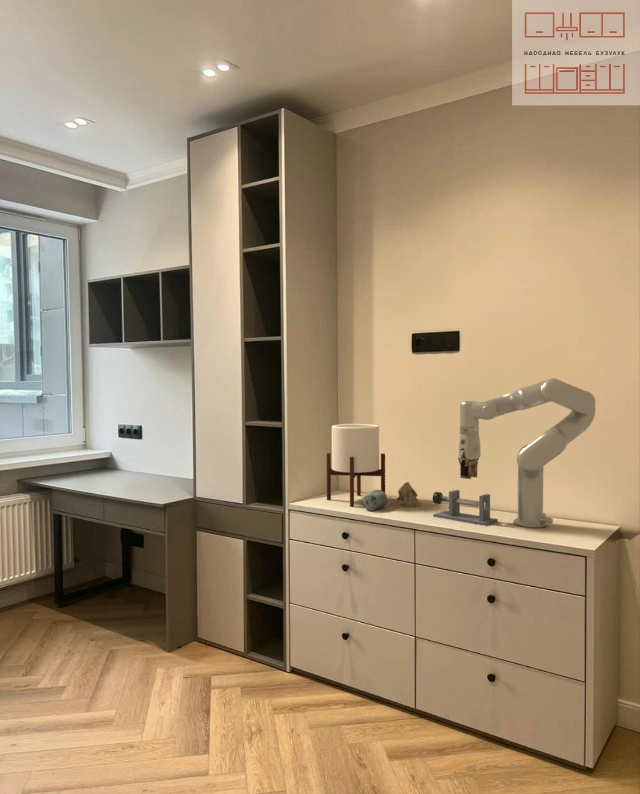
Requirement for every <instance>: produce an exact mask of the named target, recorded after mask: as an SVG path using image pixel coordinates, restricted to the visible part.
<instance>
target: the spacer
mask: <svg viewBox="0 0 640 794" xmlns="http://www.w3.org/2000/svg"><path fill="white" fill-rule="evenodd" d="M464 461H465V460H464ZM467 466H468V476H461V466H460V465H459V469H460V472H459V475H460V476H459V477H460V479H467V480H471V479H472V478H478V464H477V460H468V465H467Z"/></svg>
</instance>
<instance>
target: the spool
mask: <svg viewBox="0 0 640 794" xmlns="http://www.w3.org/2000/svg"><path fill="white" fill-rule="evenodd" d="M361 501H362V505H363V507H364V508H365V509H366V510H367V511H369V512H373V511H375V510H377V509H381V508H384V507H386V505H387V504H388V495H387V494H386V492H385V493H384V492H383V491H381V489H375V490H371V491H369V492H367V493H365V494H364V495H363V497H362V499H361Z"/></svg>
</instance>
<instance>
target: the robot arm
mask: <svg viewBox="0 0 640 794" xmlns="http://www.w3.org/2000/svg"><path fill="white" fill-rule="evenodd" d="M551 402H553V403H555V404H557V405H558V406H561V407H564V408H566V409H569V410H571V411H570V413H568V415H566V416H565V417H563V419H561V420H560V421H558V422H557V423H556V424H555V425H553V426H551V427H550V428H549V429H546V430H544V431H543V433H541V435H540V436H539V437H537V438H535V440H533V441H532V442H531V443H529V444H526V445H525V444H524V445H523V446H521V448H520V449H519V450H518V453H517V456H516V464H517V518H514V519H513V525H515V526H519V527H523V528H545V527H547V526H548V524H553V522H554V520H553V518H552V517H547V515H546V513H544V467H545V465H547V464H548V463H550V462H551V461H552V460H554V459H555V458H556V457H558V456H560V455H561V454H562V453H563V452H564V451H565V450H566V448H567V446H568V445H569V444H570V443H572V442H573V441H574V440H576V438H578V437H579V436H580V435H582V434H583V433H584V432H586V430H588V428H590V426H591V425H592V423H593V421H594V420H595V419H594V418H595V416H596V398H595V396H594V394H592V393H591V392H590V391H587V390H584V389H582V388H579V387H577V386H574V385H572V384H569V383H568V382H567V383H566V382H564V381H562V380H561V379H559V378H557V377H556V378H555V377H554V378H549V379H547V380H546V379H545V380H542V381H540V382H536V383H533V384H530V385H527V386H525V387H521V388H518V389H516V390H514V391H512V392H509V393H507V394H504V395H501V396H498V397H494V398H492V399H489V400H486V401H485V400H484V401H476V400H475V401H474V400H463V401H461V402H460V403H459V442H458V456H457V461H458V463H459V467H460V466H461V476H468V466H467V465H468V460H477V465H478V464H479V461H480V458H481V456H482V455H481V452H482V451H481V440H480V439H481V438H480V434H479V433H480V432H479V431H480V427H479V425H480V420H485V421H487V420H493V419H494V418H497V417H500V416H503V415H506V414H509V413H512V412H516V411H525V410H528V409H531V408H535V407H538V406H541V405H544V404H547V403H551ZM464 460H465V461H464Z"/></svg>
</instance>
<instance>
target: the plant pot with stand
mask: <svg viewBox="0 0 640 794" xmlns="http://www.w3.org/2000/svg"><path fill="white" fill-rule="evenodd" d="M331 476H349V507H351V508H352V507H355V478H356V496H359V497H360V496H361V495H362V488H361V487H362V485H361V484H362V478H361V477H380V490H381V491H383V492H384V493H385V494H386V453H380V426H379V425H377V424H367V423H344V424H343V423H342V424H341V423H340V424H334V425H332V426H331V452H326V500H327V501H331V500H332V499H331V498H332V477H331Z"/></svg>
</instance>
